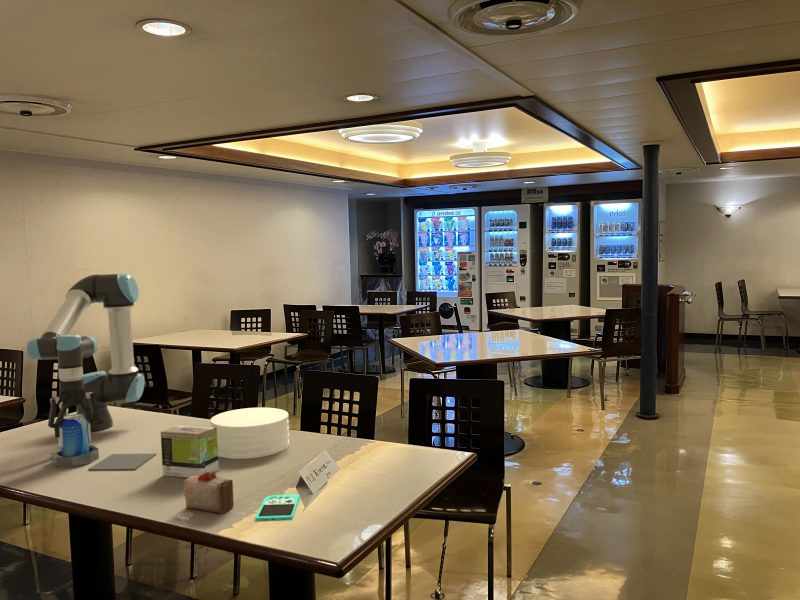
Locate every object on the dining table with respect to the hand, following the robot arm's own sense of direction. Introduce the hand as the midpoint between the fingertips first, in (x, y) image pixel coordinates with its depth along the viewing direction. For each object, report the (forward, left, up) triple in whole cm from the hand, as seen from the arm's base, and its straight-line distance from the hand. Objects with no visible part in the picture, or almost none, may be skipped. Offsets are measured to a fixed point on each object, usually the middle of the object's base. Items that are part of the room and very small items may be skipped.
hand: (75, 443), depth 215 cm
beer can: (0, 0, -6) cm, 6 cm away
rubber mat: (+2, +18, -6) cm, 19 cm away
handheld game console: (+42, +82, -7) cm, 92 cm away
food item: (+41, +62, -7) cm, 75 cm away
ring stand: (-2, -2, -6) cm, 7 cm away
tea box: (+13, +46, -7) cm, 48 cm away
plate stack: (-15, +58, -7) cm, 60 cm away
